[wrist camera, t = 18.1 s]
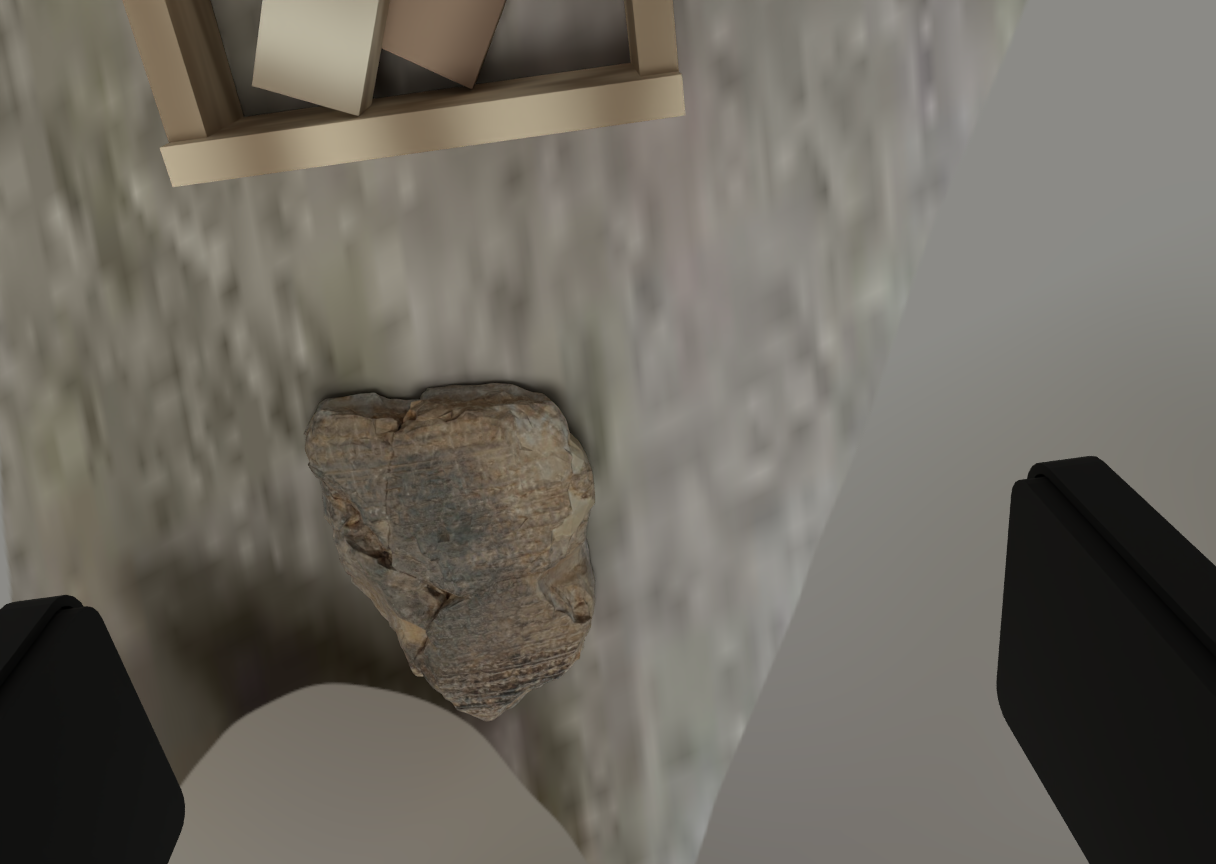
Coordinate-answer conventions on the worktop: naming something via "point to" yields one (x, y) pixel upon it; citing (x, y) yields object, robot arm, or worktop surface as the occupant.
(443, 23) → the walnut offcut
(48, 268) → the worktop surface
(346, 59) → the birch offcut
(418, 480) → the clay tablet
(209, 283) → the worktop surface
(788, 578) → the worktop surface
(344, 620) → the worktop surface
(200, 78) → the oak rack
